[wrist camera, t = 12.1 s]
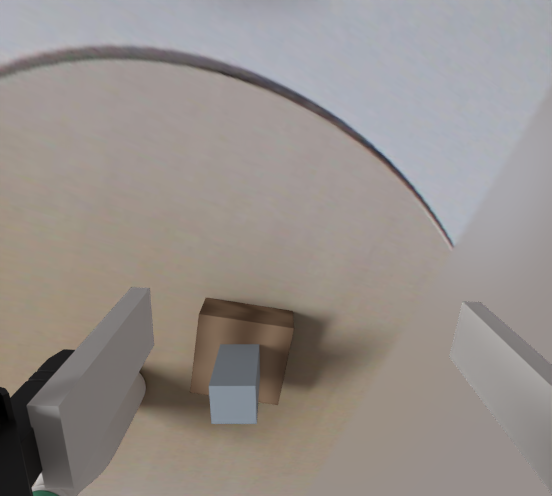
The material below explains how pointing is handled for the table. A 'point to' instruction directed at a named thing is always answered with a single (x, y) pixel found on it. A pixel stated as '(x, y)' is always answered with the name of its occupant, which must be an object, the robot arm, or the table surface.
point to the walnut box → (243, 342)
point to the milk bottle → (103, 443)
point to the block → (235, 384)
